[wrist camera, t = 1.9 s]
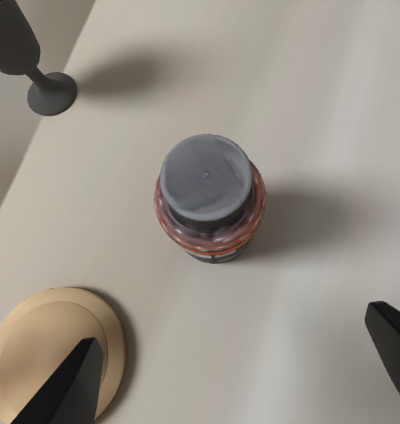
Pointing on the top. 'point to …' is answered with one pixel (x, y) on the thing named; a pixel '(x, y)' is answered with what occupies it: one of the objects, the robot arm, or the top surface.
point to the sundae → (31, 63)
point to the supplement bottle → (209, 198)
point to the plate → (56, 344)
